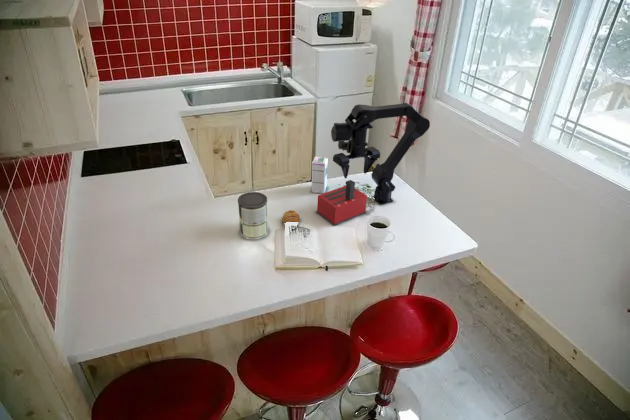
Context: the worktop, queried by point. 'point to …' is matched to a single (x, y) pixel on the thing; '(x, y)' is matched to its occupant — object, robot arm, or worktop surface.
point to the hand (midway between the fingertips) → (355, 175)
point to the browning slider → (349, 189)
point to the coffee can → (253, 215)
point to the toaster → (341, 205)
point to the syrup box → (319, 174)
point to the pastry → (290, 216)
